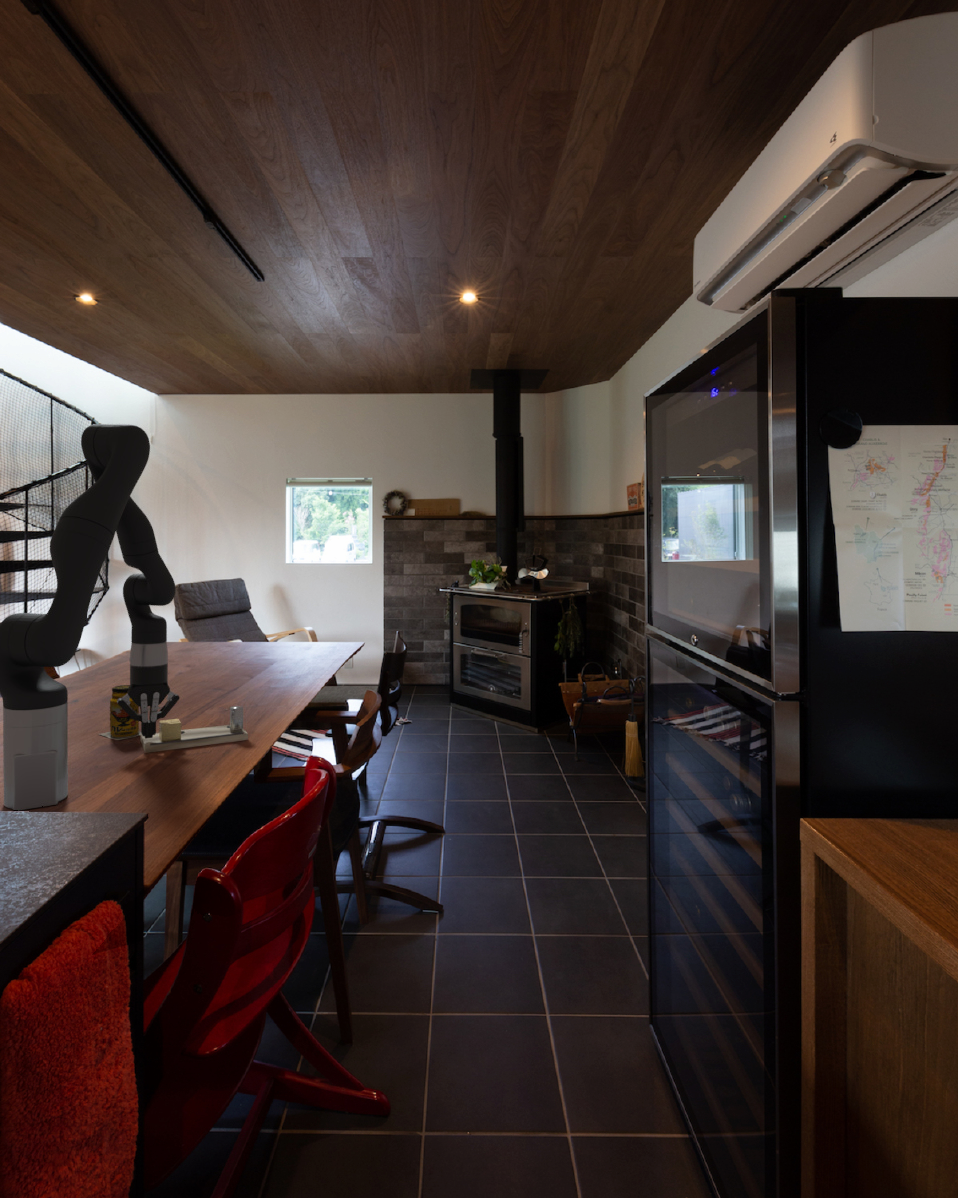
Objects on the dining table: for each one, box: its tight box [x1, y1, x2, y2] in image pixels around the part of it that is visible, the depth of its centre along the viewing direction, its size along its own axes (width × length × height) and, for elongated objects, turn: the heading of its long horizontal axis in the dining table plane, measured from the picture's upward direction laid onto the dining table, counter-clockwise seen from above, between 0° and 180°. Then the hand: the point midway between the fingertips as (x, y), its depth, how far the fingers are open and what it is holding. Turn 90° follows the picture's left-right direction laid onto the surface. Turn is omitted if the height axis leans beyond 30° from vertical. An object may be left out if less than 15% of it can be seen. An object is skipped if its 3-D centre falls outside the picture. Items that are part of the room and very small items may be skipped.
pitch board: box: [140, 724, 249, 754], centre depth 145 cm, size 10×22×2 cm, turn 124°
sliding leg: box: [158, 718, 182, 742], centre depth 142 cm, size 7×4×4 cm, turn 34°
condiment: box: [98, 684, 142, 741], centre depth 148 cm, size 7×8×12 cm
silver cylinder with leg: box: [229, 705, 244, 733], centre depth 150 cm, size 6×3×6 cm, turn 34°
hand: (148, 737), depth 138 cm, fingers closed
